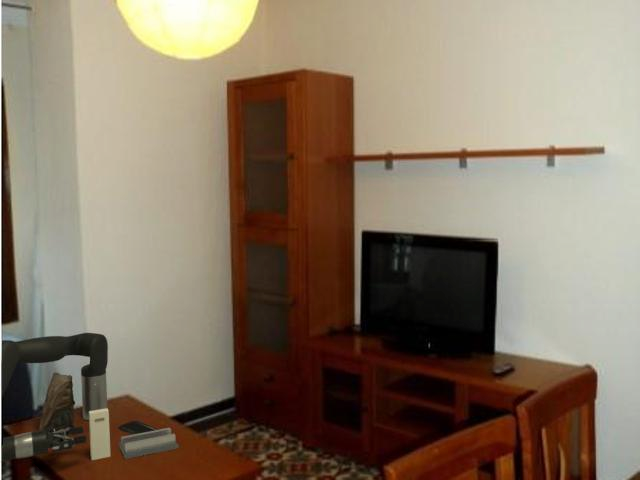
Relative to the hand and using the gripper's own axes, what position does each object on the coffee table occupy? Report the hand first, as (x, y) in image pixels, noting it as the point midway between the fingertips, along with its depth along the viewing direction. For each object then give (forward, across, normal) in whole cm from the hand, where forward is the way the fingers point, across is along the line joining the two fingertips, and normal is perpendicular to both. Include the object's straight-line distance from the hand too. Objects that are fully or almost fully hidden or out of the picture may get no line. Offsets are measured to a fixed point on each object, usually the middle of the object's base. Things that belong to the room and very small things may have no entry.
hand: (84, 434), depth 207 cm
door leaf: (+5, 0, +9) cm, 10 cm away
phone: (+21, +17, +10) cm, 28 cm away
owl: (-6, +33, +9) cm, 35 cm away
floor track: (+21, 0, +9) cm, 23 cm away
